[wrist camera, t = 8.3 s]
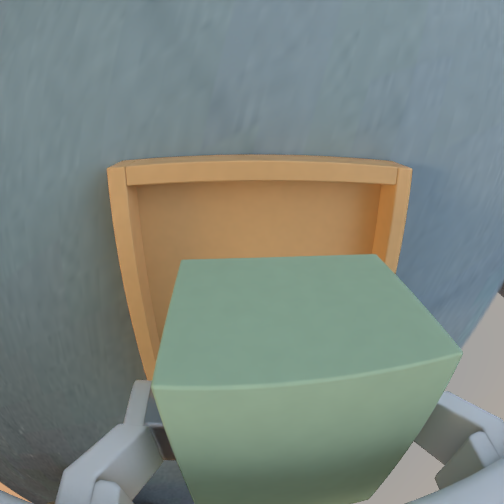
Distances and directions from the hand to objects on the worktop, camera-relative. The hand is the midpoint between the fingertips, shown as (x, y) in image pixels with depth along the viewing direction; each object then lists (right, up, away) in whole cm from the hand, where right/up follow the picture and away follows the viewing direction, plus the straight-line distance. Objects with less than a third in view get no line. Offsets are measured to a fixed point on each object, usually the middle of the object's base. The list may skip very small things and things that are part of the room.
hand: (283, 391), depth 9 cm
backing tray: (-1, 0, +9) cm, 9 cm away
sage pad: (0, +1, +1) cm, 2 cm away
